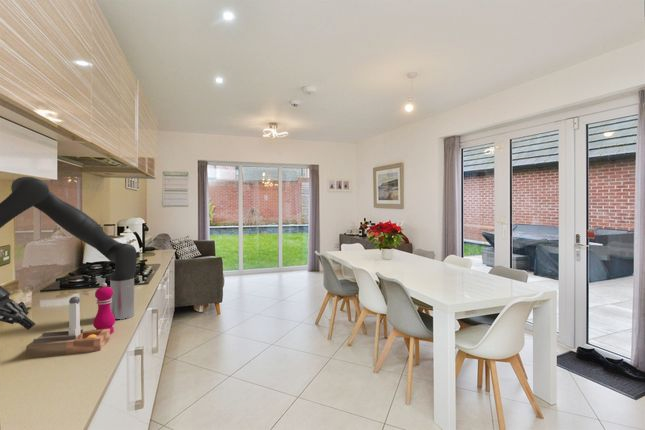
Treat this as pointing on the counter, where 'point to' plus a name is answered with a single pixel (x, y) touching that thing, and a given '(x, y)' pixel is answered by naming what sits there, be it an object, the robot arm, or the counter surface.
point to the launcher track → (67, 343)
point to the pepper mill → (104, 309)
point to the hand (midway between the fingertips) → (32, 326)
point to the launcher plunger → (74, 316)
